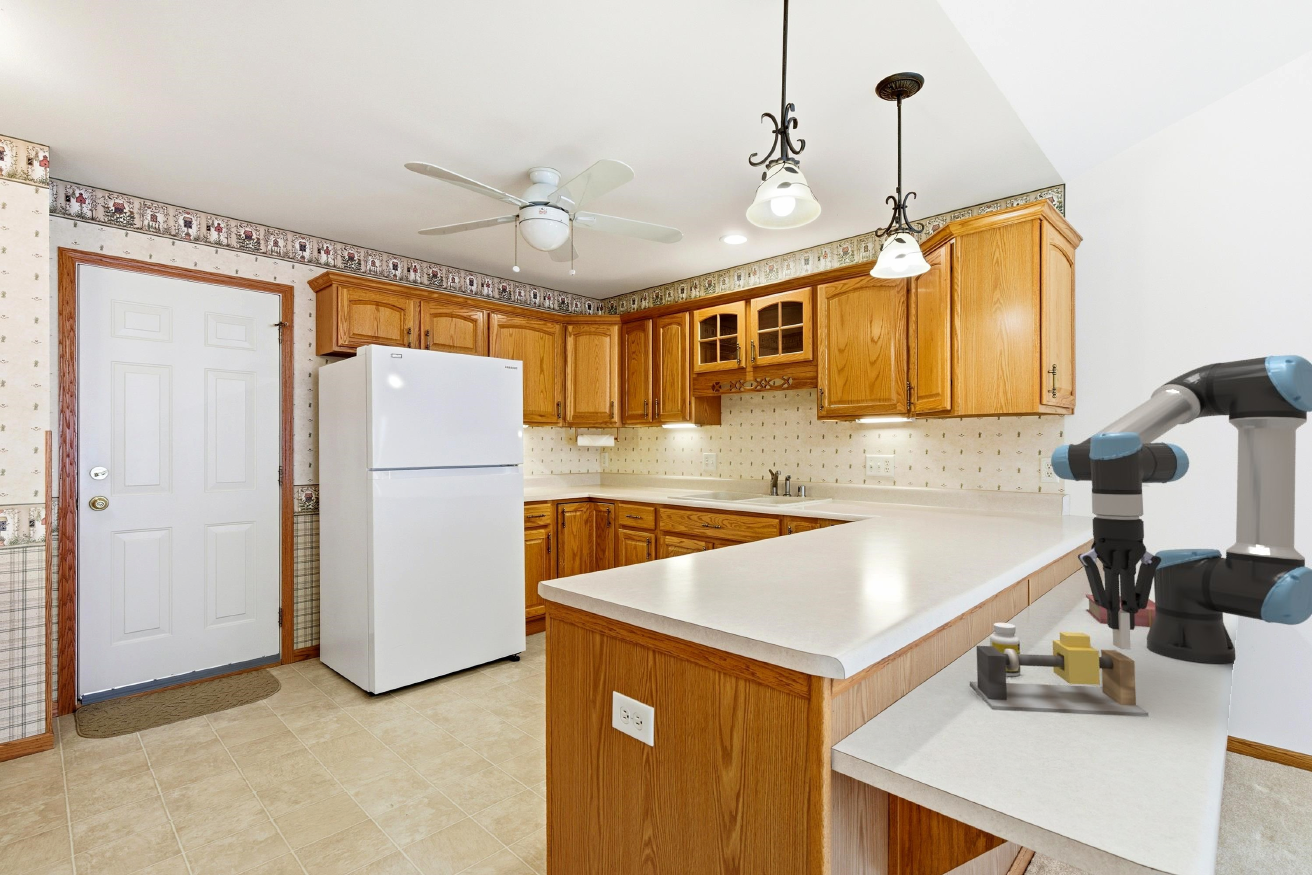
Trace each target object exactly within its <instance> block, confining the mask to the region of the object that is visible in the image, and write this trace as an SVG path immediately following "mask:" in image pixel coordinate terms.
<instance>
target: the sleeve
mask: <svg viewBox="0 0 1312 875" xmlns="http://www.w3.org/2000/svg"><path fill="white" fill-rule="evenodd" d="M1052 655H1057V656H1064V667H1052V669H1053V673H1054V674H1055V675H1057V676H1058V677H1060V679H1062V680H1063V681H1064V682H1066V683H1067V684H1069V685H1088V686H1090V685H1092V686H1093V685H1094V686H1099V685H1100V686H1101V679H1100V675H1101V674H1100V673H1101V672H1100V668H1099V657H1100V652H1099V649H1097V648H1094V647H1093V646H1091V636H1090V635H1088V634H1086V633H1084V632H1069V631H1067V632H1063V631H1060V632H1059V639H1058V640H1057V639H1052Z"/></svg>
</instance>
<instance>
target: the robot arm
mask: <svg viewBox="0 0 1312 875" xmlns="http://www.w3.org/2000/svg"><path fill="white" fill-rule="evenodd" d="M1310 412H1312V363H1311V362H1310V361H1309V360H1308V359H1307V358H1304V357H1303V356H1301V355H1300V356H1299V355H1295V354H1293V355H1292V354H1289V355H1287V354H1286V355H1269V356H1264V357H1258V358H1249V359H1241V360H1235V361H1234V360H1233V361H1226V362H1216V363H1210V364H1206V365H1203V366H1200V367H1197V368H1195V369H1192V370H1189V371H1187V372H1185V373H1183V374H1181V375H1179V376H1177V377H1174V378H1172V379H1171V380H1169V381H1167V382H1166V383H1164V384H1162V385H1161V386H1159V387H1158V388H1156V389H1155V390H1154V391H1153V392H1152V393H1151V396H1150V398H1149V399H1148V400H1146V401H1145V402H1144V403H1141V404H1140V405H1138V406H1136V407H1135V408H1133V409H1132V410H1131V411H1128V413H1126V414H1124V415H1123V416H1122V417H1119V418H1118V419H1117V420H1115V421H1113V422H1112V423H1110V424H1108V425H1107V426H1106V427H1104V428H1103V429H1100V430H1099V431H1097V432H1096V433H1094V434H1093V435H1091V436H1090V437H1088V438H1087V439H1085V440H1083V441H1082V442H1080V443H1077V444H1074V443H1069V444H1064V445H1063V444H1062V445H1059V446H1057V447H1056V448H1055V449H1054V451H1053V452H1052V455H1051V460H1050V463H1051V467H1052V472H1053V473H1054V475H1056V476H1057V477H1058V478H1060V479H1062V480H1068V481H1075V482H1080V481H1082V482H1083V481H1084V482H1085V481H1086V482H1091V509H1092V514H1093V515H1095V517H1093V518H1092V536H1093V542H1092V545H1091V546H1090V550H1089V551H1087V552H1085V553H1079V554H1078V555H1077V558H1078V560H1079V561H1080V563H1081V564H1082V565H1083V567H1084V568H1083V569H1084V571H1085V574H1086V577H1087V581H1088V584H1089V588H1090V590H1091V595H1093V598H1094V602H1095V604H1096V605H1098V606H1100V607H1103V608H1105V609H1106V610H1107V621H1108V622H1107V623H1108V624H1107V626H1108V627H1109V629H1112V645H1113V646H1114V647H1116V648H1119V649H1120V650H1125V651H1126V650H1131V647H1132V645H1131V644H1132V643H1131V631H1134V629H1135V627H1136V626H1135V616H1134V614H1136V613H1138V610H1139V609H1145V608H1146V607H1147V604H1148V599H1150V594H1151V590H1152V586H1154V588H1153V589H1154V590H1153V591H1154V602H1155V617H1154V619H1153V622H1152V624H1151V627H1149V629H1148V632H1147V635H1146V648H1148V650H1150V651H1152V652H1154V653H1156V654H1159V655H1163V656H1165V657H1171V658H1173V659H1178V660H1183V661H1184V660H1185V661H1190V662H1197V663H1207V664H1226V663H1227V664H1229V663H1233V662H1235V661H1236V649H1235V646H1234V643H1233V640H1232V639H1231V636H1230V635H1229V632H1228V630H1227V627H1226V625H1225V623H1224V622H1225V621H1224V614H1229V615H1234V616H1238V617H1243V618H1244V617H1245V618H1249V619H1253V620H1254V619H1255V620H1259V621H1264V622H1266V623H1271V624H1272V623H1276V624H1280V625H1288V626H1296V625H1299V624H1302V623H1304V622H1306V621H1307V620H1308V619H1309V618H1310V617H1311V616H1312V569H1311V568H1309V567H1307V566H1306V558H1305V556H1304V555H1302V554H1301V553H1300V552H1299V551H1298V550H1296V548H1295V524H1296V523H1295V517H1296V515H1295V514H1296V513H1295V512H1296V511H1295V510H1296V509H1295V508H1296V506H1295V505H1296V449H1297V448H1296V447H1297V446H1296V445H1297V443H1296V442H1297V430H1298V428H1300V427H1301V426H1303V425H1304V424H1306V423H1307V420H1308V413H1310ZM1215 416H1216V417H1219V416H1228V423H1229V424H1231V425H1232V426H1233V427H1235V428H1236V430H1237V469H1236V470H1237V472H1236V474H1237V476H1236V478H1237V479H1236V485H1237V486H1236V523H1235V525H1236V528H1235V529H1236V530H1235V531H1236V532H1235V536H1236V537H1235V543H1234V544H1233V545H1232V546H1230V547H1228V548H1227V549H1226V550H1225V557H1222V556H1223V555H1222V553H1221V551H1220V550H1219V549H1214V548H1179V549H1176V548H1175V549H1163V550H1159V551H1157V552H1156V553H1155V554H1152V553H1151V552H1149V551H1147V547H1146V545H1145V544H1144V538H1145V529H1144V528H1145V525H1144V520H1143V519H1142V518H1140V517H1143V516H1144V502H1143V501H1144V498H1143V484H1168V483H1171V482H1176V481H1179V480H1180V479H1182V478H1183V477H1185V475H1186V474H1187V472H1188V470H1189V468H1190V460H1189V456H1188V454H1187V452H1186V451H1185V450H1184V449H1183V448H1182V447H1180V446H1178V445H1176V444H1174V443H1173V444H1172V443H1165V442H1163V441H1162V442H1154V441H1156V440H1157V439H1158V438H1160V437H1161V436H1163V435H1164V434H1166V433H1167V432H1169V431H1170V430H1172V429H1173V428H1175V427H1177V426H1178V425H1186V424H1189V423H1191V422H1193V421H1194V420H1196V419H1199V418H1207V417H1215ZM1097 559H1098V560H1097ZM1098 561H1100V563H1101V564H1102V571H1103V573H1104V582H1103V580H1102V576H1101V573H1100V569H1099V567H1098V565H1097V562H1098ZM1139 562H1140V565H1139V568H1138V573H1137V565H1138V563H1139ZM1136 574H1137V577H1135V575H1136ZM1120 596H1121V608H1122V609H1123V610H1121V609H1120Z"/></svg>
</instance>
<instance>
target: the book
mask: <svg viewBox="0 0 1312 875" xmlns="http://www.w3.org/2000/svg"><path fill="white" fill-rule="evenodd" d="M1085 598H1086V599H1088V609H1086V612H1088V614H1090V615H1091V616H1092V617H1093V618H1094V619H1095V620H1096V621H1097V622H1098V623H1099V624H1101V625H1103V624H1104V625H1108V623H1107V622H1108V621H1107V610H1106V609H1105V608H1103V607H1100V606H1098V605H1096V604H1095V602H1094V598H1093V595H1092V594H1091V593H1089V594H1088V593H1087V594H1085ZM1120 609H1121V610H1123V609H1122V608H1121V596H1120ZM1134 616H1135V627H1143V628H1146V627H1147V628H1150V627H1151V624H1152V622H1153V619H1154V617H1155V601H1153V600H1152V599H1151V598H1149V599H1148V604H1147V607H1146V608H1145V609H1139V610H1138V613H1136V614H1134Z"/></svg>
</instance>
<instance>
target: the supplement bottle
mask: <svg viewBox="0 0 1312 875" xmlns="http://www.w3.org/2000/svg"><path fill="white" fill-rule="evenodd" d="M1016 629H1017V628H1016V625H1014V624H1012V623H1007V622H995V623H993V632H994V633H992V634H990V637H989V646H994V647H995V648H996V649H997V650H998V651H1000V652H1001V653H1002V654H1004V650H1005V649H1014V650H1015V651H1016V653H1017V654H1021V649H1020V648H1021V645H1020V644H1021V642H1020V638H1019V637H1018V636H1017V635H1015V634H1016V633H1017V632H1016ZM1020 675H1021V666H1019V667H1018V670H1017V671H1013V670H1008V669H1007V668H1006V677H1019V676H1020Z"/></svg>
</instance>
